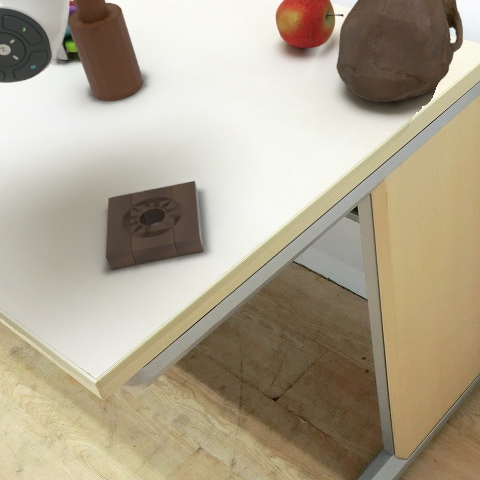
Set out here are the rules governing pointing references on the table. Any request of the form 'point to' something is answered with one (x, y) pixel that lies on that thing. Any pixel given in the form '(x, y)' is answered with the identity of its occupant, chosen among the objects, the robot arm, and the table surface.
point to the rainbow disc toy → (67, 38)
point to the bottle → (105, 49)
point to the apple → (306, 22)
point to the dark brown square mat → (155, 236)
